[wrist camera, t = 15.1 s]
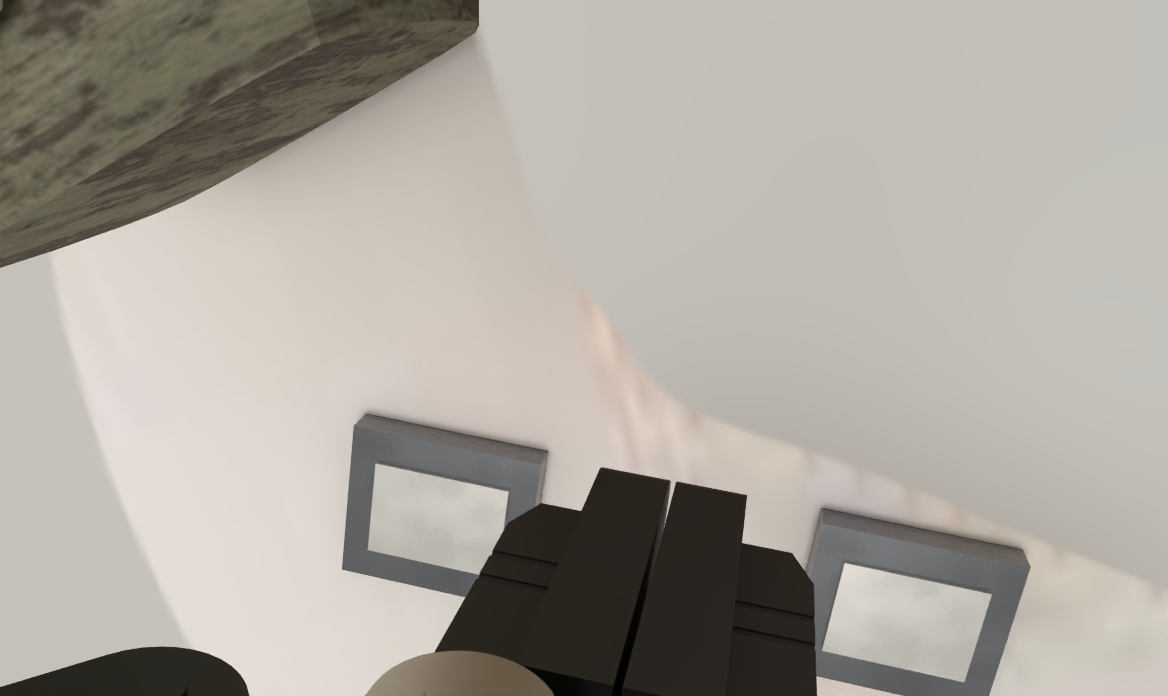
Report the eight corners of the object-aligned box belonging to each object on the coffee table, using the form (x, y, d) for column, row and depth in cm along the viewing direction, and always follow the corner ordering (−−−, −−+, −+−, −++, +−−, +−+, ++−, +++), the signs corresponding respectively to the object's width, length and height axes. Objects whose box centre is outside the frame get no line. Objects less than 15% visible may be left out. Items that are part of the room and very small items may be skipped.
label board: (1022, 550, 37) (1032, 570, 36) (976, 693, 39) (984, 716, 38) (365, 413, 40) (351, 428, 38) (353, 554, 42) (339, 571, 40)
